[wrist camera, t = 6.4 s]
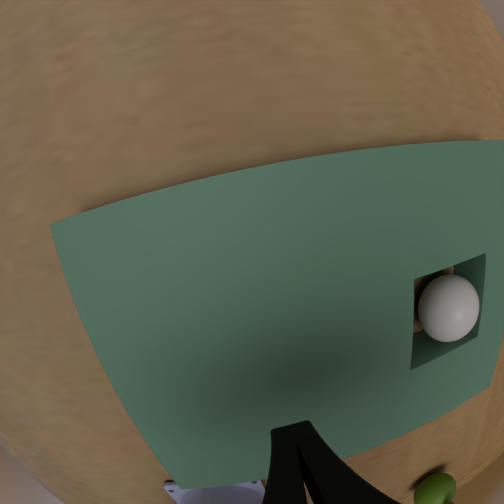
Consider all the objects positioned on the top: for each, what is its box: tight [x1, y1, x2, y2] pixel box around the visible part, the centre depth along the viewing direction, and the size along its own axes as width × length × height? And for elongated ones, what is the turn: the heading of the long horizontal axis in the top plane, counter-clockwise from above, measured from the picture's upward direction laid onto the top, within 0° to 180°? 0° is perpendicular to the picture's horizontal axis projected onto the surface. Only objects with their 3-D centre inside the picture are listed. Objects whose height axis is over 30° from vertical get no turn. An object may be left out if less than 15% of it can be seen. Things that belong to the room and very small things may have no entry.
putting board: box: [50, 140, 504, 489], centre depth 15 cm, size 18×24×3 cm
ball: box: [418, 274, 479, 342], centre depth 15 cm, size 4×4×4 cm
